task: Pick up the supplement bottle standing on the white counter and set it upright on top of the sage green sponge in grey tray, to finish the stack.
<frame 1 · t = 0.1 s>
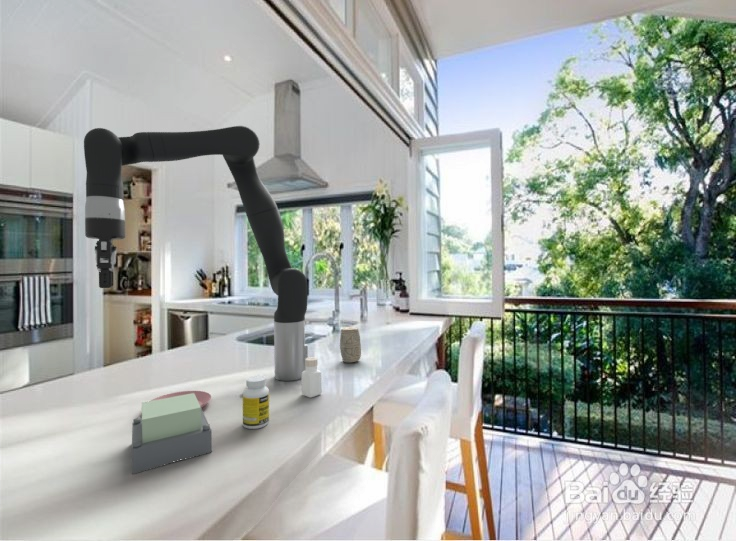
hand: (106, 287, 82), 29 cm above the countertop, tool pointing down, fingers open, 8 cm apart
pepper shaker: (311, 395, 92), on the countertop
carving: (350, 362, 124), on the countertop
plate: (178, 410, 83), on the countertop
supplement bottle: (256, 424, 75), on the countertop
sponge in grey tray: (171, 447, 65), on the countertop
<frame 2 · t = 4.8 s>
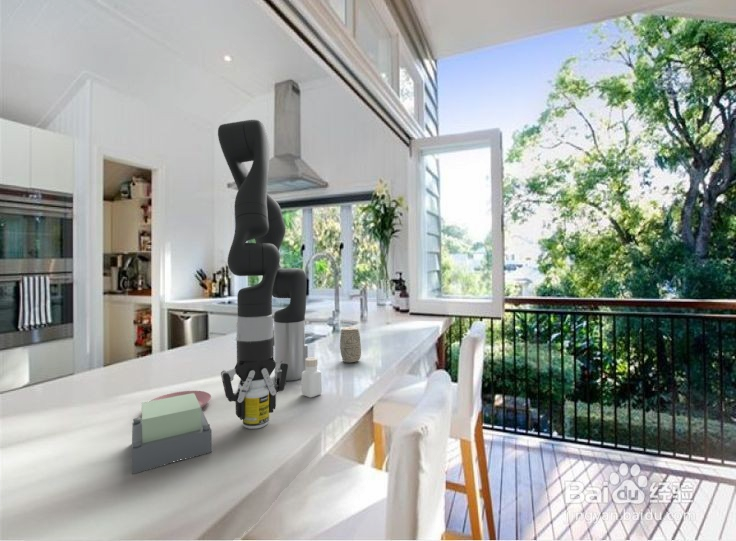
hand: (256, 414, 75), 2 cm above the countertop, tool pointing down, fingers closed on supplement bottle, 5 cm apart
supplement bottle: (256, 424, 75), on the countertop, touching gripper
everything else where it was.
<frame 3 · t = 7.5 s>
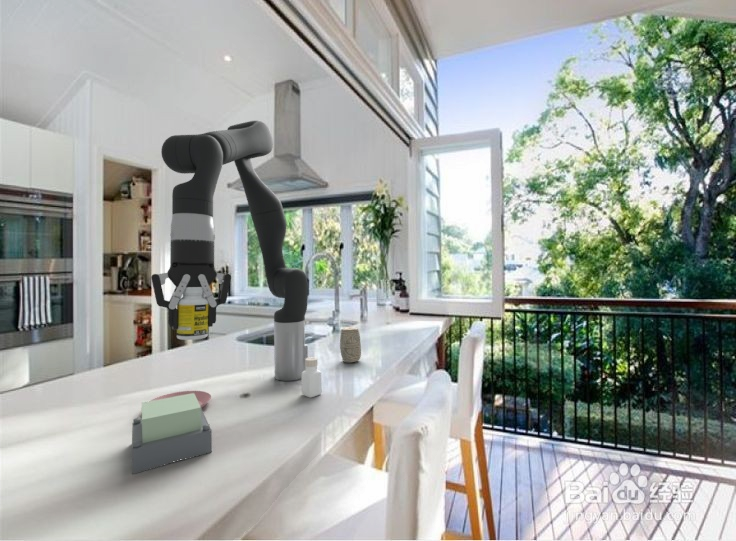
hand: (192, 327, 67), 22 cm above the countertop, tool pointing down, fingers closed on supplement bottle, 5 cm apart
supplement bottle: (192, 338, 67), point 20 cm above the countertop, touching gripper
everything else where it was.
when the fingers open (11 cm above the countertop, at t = 10.2 s): supplement bottle drops 1 cm, resting on sponge in grey tray.
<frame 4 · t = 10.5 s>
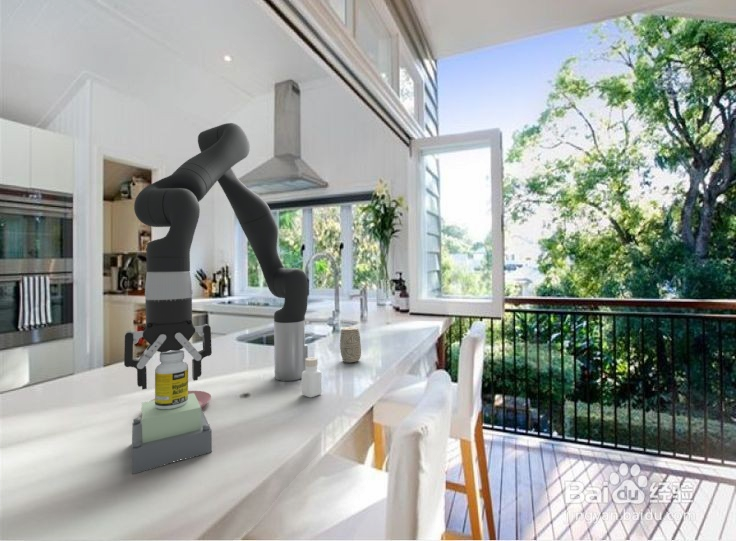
hand: (170, 383, 65), 12 cm above the countertop, tool pointing down, fingers open, 8 cm apart
supplement bottle: (172, 405, 65), point 8 cm above the countertop, touching sponge in grey tray
everything else where it was.
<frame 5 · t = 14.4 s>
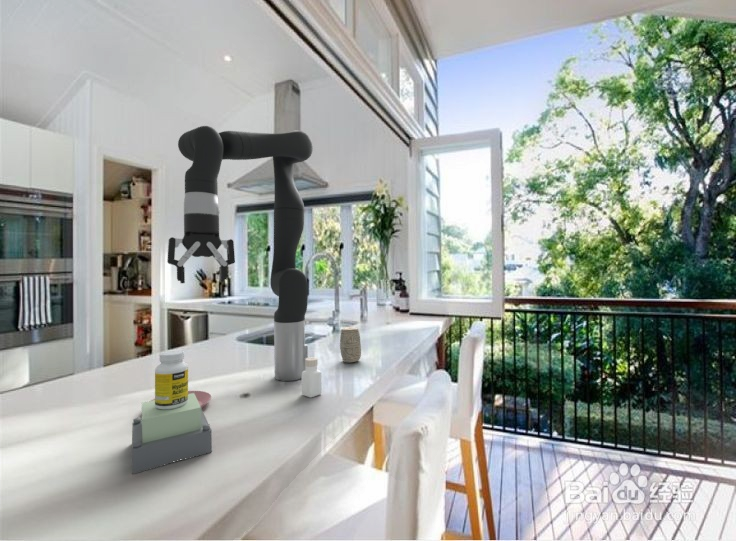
hand: (202, 282, 83), 30 cm above the countertop, tool pointing down, fingers open, 8 cm apart
nothing on the countertop moved.
at the end: supplement bottle 0.2 cm off-centre on the sponge in grey tray, point 7.8 cm above the sponge in grey tray's base; supplement bottle tilted 0°; the gripper is holding nothing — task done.
